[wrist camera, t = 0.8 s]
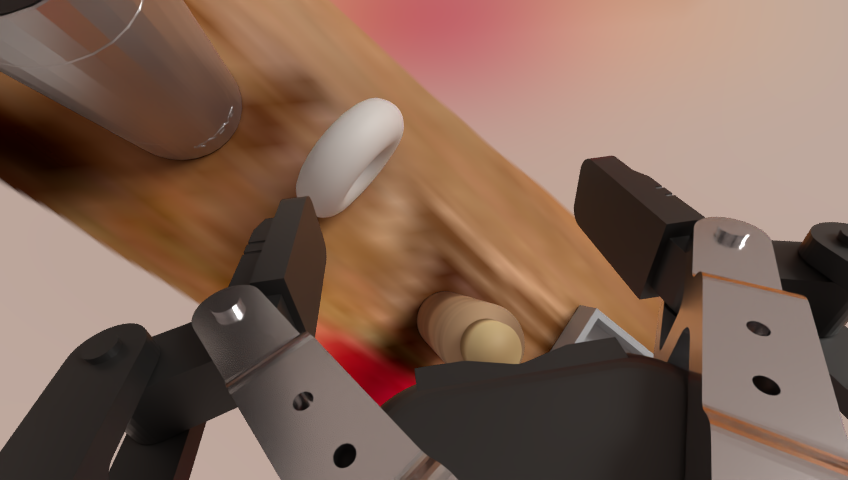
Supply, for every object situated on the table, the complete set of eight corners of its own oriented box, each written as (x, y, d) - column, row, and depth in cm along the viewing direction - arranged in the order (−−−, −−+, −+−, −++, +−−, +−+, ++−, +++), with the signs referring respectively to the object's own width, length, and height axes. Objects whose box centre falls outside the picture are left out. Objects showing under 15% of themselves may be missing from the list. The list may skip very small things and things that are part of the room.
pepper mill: (405, 326, 32) (434, 362, 20) (439, 279, 33) (486, 288, 21) (450, 360, 33) (504, 414, 21) (482, 313, 33) (552, 340, 22)
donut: (374, 121, 33) (382, 60, 23) (404, 147, 33) (425, 98, 23) (297, 206, 31) (269, 179, 21) (329, 233, 31) (317, 218, 22)
